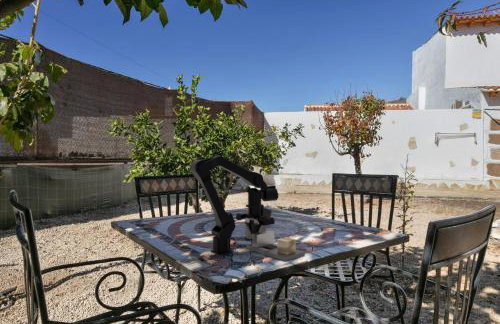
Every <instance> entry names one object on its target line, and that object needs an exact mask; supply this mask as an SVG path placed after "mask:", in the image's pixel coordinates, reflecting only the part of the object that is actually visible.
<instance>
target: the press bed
mask: <svg viewBox="0 0 500 324" xmlns="http://www.w3.org/2000/svg"><path fill="white" fill-rule="evenodd" d="M245 250H247V251H252V252H255V253H258V254H261V255H264V256H266V257H270V258H273V259H276V260H280V261H283V262H288V261H291V260H296V259H299V258H301V256H302V257H305V254H306V251H304V250H299V249H296V252H295V253H291V254H288V255H286V254H283V253H279V252H277V244H276V243H273V244H269V245H265V246H261V247H254V246H252V243H251V244H246V249H245Z"/></svg>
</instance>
